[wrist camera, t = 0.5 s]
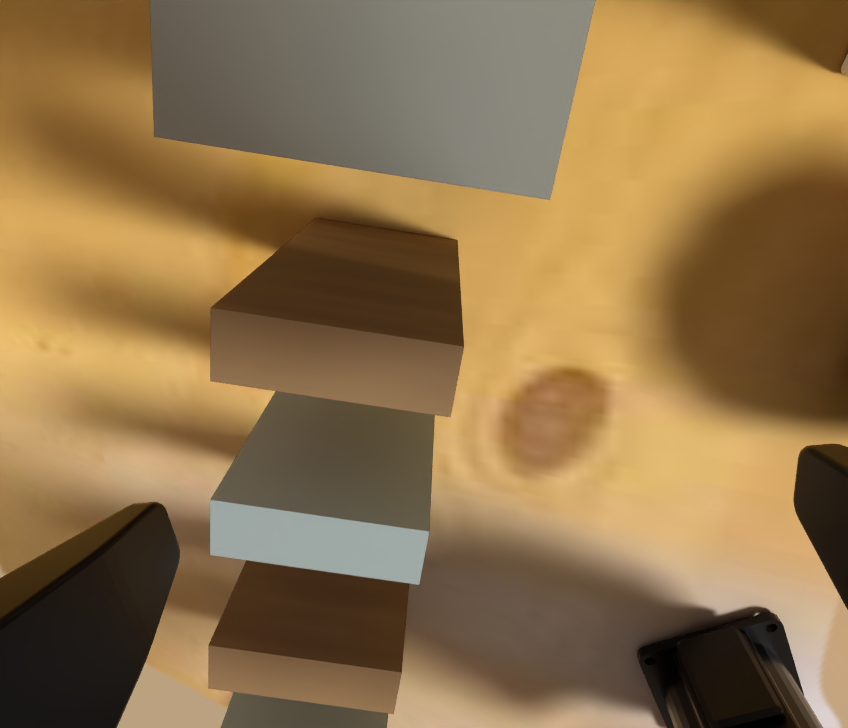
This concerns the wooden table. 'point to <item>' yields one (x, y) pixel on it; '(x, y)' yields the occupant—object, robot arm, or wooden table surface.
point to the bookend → (376, 83)
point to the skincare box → (845, 66)
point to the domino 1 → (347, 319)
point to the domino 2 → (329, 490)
